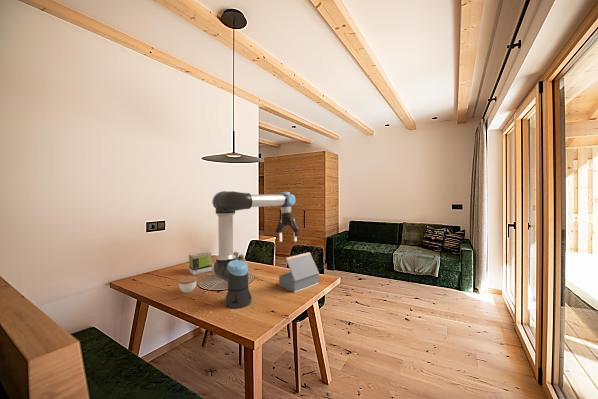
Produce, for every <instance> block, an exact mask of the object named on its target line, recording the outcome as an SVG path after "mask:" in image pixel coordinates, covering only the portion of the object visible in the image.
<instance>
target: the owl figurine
mask: <svg viewBox="0 0 598 399" xmlns="http://www.w3.org/2000/svg"><path fill="white" fill-rule="evenodd" d="M233 254H234V255H235V256H236V260H239V261H240V260H241V261H244V262H246V258H245V254H242V253H240V254H239V252H238V251H233Z"/></svg>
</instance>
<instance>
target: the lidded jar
mask: <svg viewBox="0 0 598 399" xmlns="http://www.w3.org/2000/svg"><path fill="white" fill-rule="evenodd" d="M178 286H179V290H180V291H181V292H182V293H184V294H188V293H192V292H193V291H194V290H195V288H196V287H197V277H196V276H185V277H181V278H180V279H178Z"/></svg>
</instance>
